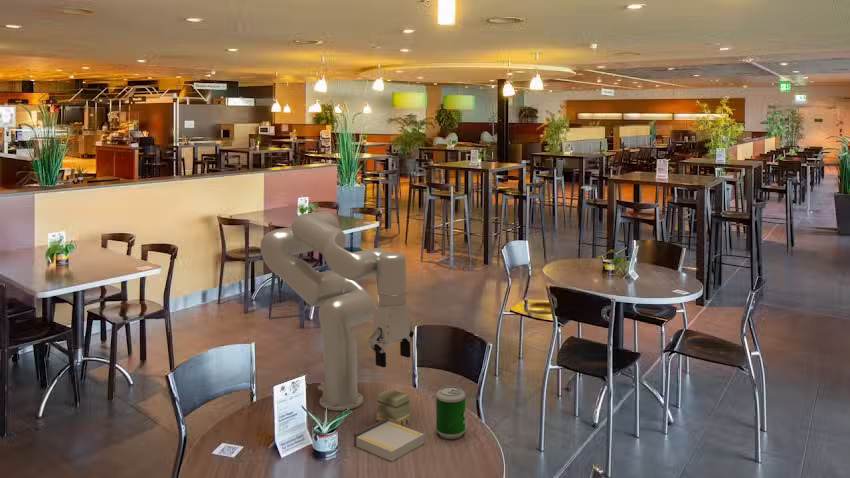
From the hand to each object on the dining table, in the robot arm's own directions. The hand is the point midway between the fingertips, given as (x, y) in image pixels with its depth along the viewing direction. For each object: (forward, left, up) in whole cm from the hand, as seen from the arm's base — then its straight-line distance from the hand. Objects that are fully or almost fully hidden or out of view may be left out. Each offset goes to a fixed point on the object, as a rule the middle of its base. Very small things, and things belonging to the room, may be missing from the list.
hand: (393, 361), depth 180 cm
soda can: (+17, +3, -17) cm, 24 cm away
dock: (+9, -11, -17) cm, 22 cm away
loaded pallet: (0, 0, -17) cm, 17 cm away
